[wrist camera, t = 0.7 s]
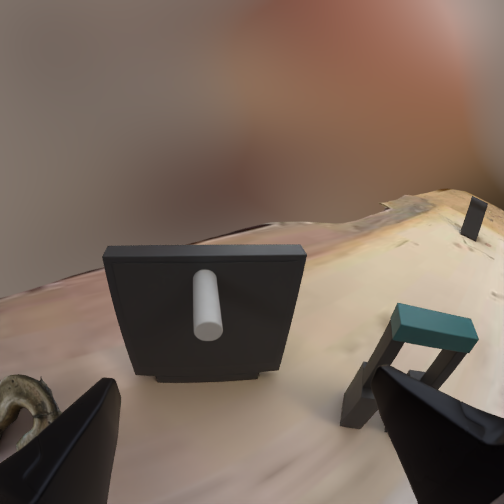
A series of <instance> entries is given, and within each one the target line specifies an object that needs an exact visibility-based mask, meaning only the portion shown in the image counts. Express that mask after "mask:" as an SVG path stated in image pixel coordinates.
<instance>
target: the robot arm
mask: <svg viewBox="0 0 504 504" xmlns="http://www.w3.org/2000/svg"><path fill="white" fill-rule="evenodd" d="M371 390H372V393H373V395H374V398H375V401H376V404H377V407H378V410H379V413H380V416H381V419H382V421H383V424H384V426H385V428H386V430H387V432H388V435H389V437H390V439H391V441H392V443H393V446H394V448H395V450H396V452H397V455H398V457H399V459H400V461H401V464H402V466H403V468H404V471H405V473H406V475H407V478H408V480H409V482H410V485H411V487H412V490H413V492H414V495H415V497H416V499H417V501H418V504H504V418H501V417H498V416H495V415H492V414H489V413H487V412H484V411H481V410H479V409H476V408H474V407H472V406H470V405H468V404H466V403H463V402H460V401H459V400H457V399H455V398H453V397H451V396H449V395H447V394H445V393H443V392H441V391H439V390H437V389H435V388H433V387H431V386H429V385H427V384H425V383H423V382H421V381H419V380H417V379H415V378H413V377H411V376H409V375H407V374H405V373H403V372H401V371H399V370H397V369H396V368H394V367H392V366H390V365H382V366H378V367H377V369H376V371H375V373H374V376H373V378H372V381H371ZM120 407H121V396H120V392H119V389H118V386H117V383H116V381H115V379H113V378H102V379H100V380H99V381H98V382H97V383H96V384H95V385H94V386H92V387H91V388H90V389H89V390H88V391H87V392H86V393H84V394H83V395H82V396H81V397H80V398H79V399H78V400H76V401H75V402H74V403H73V404H72V405H71V406H70V407H68V408H67V409H66V410H65V411H64V412H63V413H62V414H61V415H59V416H58V417H57V418H56V419H55V420H54V421H53V422H51V423H50V424H49V425H48V426H47V427H46V428H45V429H43V430H42V431H41V432H40V433H39V434H38V436H35V437H34V438H33V439H32V440H31V441H30V442H28V443H27V444H26V445H25V446H24V447H22V448H21V449H20V450H19V451H17V452H16V453H14V454H13V455H12V456H10V457H9V458H7V459H6V460H4V461H3V462H1V463H0V504H107V499H108V492H109V485H110V479H111V473H112V467H113V461H114V456H115V451H116V445H117V440H118V428H119V417H120Z"/></svg>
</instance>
